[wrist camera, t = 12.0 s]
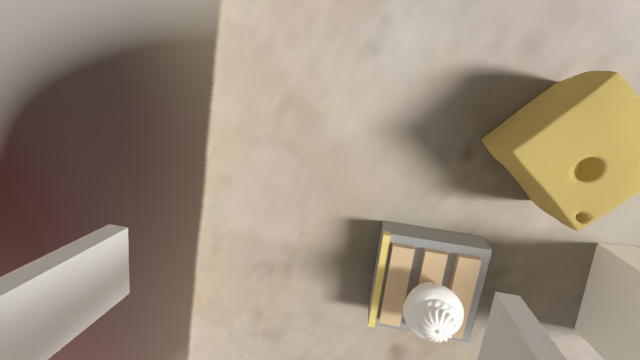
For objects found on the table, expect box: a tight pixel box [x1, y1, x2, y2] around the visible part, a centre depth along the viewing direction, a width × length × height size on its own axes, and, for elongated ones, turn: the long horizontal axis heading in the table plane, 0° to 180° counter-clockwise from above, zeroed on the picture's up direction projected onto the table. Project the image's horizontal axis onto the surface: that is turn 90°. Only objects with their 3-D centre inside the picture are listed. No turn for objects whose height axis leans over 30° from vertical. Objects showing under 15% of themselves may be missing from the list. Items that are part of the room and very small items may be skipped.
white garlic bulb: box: [403, 282, 464, 343], centre depth 37 cm, size 6×6×7 cm
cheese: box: [481, 71, 640, 231], centre depth 35 cm, size 10×11×10 cm
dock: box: [368, 221, 492, 343], centre depth 43 cm, size 12×12×5 cm
